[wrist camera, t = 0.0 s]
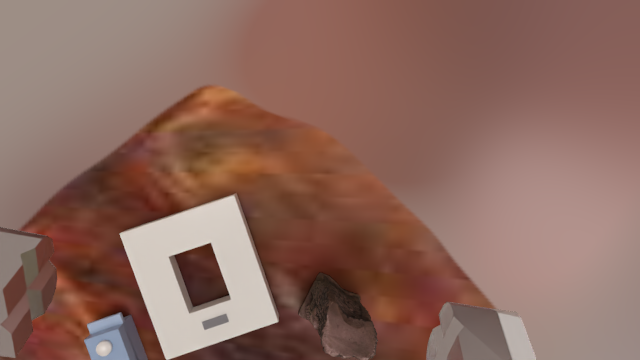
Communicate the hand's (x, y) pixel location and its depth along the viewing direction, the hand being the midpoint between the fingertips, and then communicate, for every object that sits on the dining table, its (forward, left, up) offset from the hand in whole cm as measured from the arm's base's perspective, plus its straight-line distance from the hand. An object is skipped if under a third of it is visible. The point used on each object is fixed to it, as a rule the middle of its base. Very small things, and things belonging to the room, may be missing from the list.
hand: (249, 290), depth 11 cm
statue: (-17, 0, -55) cm, 57 cm away
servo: (-14, +26, -54) cm, 62 cm away
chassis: (-9, +14, -54) cm, 57 cm away
